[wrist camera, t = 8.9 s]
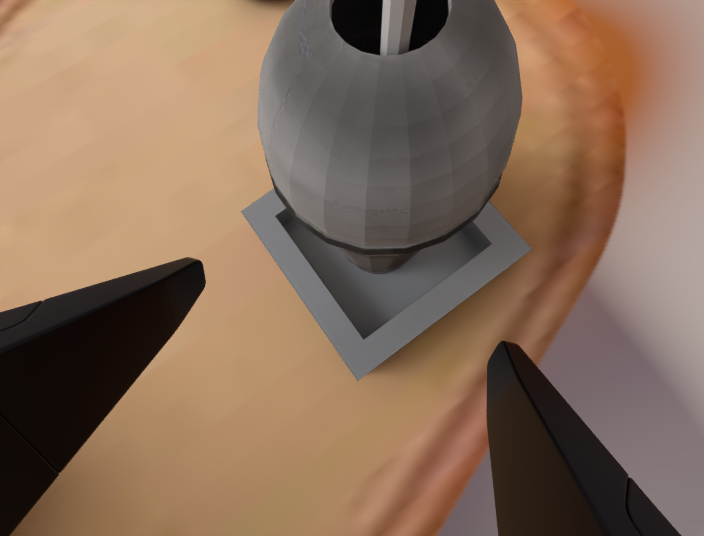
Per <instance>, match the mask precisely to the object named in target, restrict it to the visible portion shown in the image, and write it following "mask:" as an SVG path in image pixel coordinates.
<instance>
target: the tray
mask: <svg viewBox="0 0 704 536" xmlns="http://www.w3.org/2000/svg"><path fill="white" fill-rule="evenodd" d="M241 212H242V214H243V215H244V217H245V218H246V220H247V221H248V222H249V224H250V225H251V227H252V228H253V230H254V231H255V233H256V234H257V236H258V237H259V238H260V240H261V241H262V243H263V244H264V246H265V247H266V249H267V250H268V252H269V253H270V254H271V256H272V257H273V259H274V260H275V262H276V263H277V265H278V266H279V268H280V269H281V270H282V272H283V273H284V275H285V276H286V278H287V279H288V281H289V282H290V284H291V285H292V286H293V288H294V289H295V291H296V292H297V294H298V295H299V297H300V298H301V299H302V301H303V302H304V304H305V305H306V307H307V308H308V310H309V311H310V313H311V314H312V315H313V317H314V318H315V320H316V321H317V323H318V324H319V326H320V327H321V329H322V330H323V331H324V333H325V334H326V336H327V337H328V339H329V340H330V342H331V343H332V345H333V346H334V347H335V349H336V350H337V352H338V353H339V355H340V356H341V358H342V359H343V361H344V362H345V363H346V365H347V366H348V368H349V369H350V371H351V372H352V374H353V375H354V376H355V378H356V379H357V381H358V380H360V379H361V378H362V377H364V376H365V375H366V374H367V373H369V372H370V371H371V370H373V369H374V368H375V367H377V366H378V365H379V364H381V363H382V362H383V361H385V360H386V359H387V358H389V357H390V356H391V355H393V354H394V353H395V352H397V351H398V350H399V349H401V348H402V347H403V346H405V345H406V344H407V343H409V342H410V341H411V340H413V339H414V338H415V337H417V336H418V335H419V334H421V333H422V332H423V331H425V330H426V329H427V328H428V327H430V326H431V325H432V324H434V323H435V322H436V321H438V320H439V319H440V318H442V317H443V316H444V315H446V314H447V313H448V312H450V311H451V310H452V309H454V308H455V307H456V306H458V305H459V304H460V303H462V302H463V301H464V300H466V299H467V298H468V297H470V296H471V295H472V294H474V293H475V292H476V291H478V290H479V289H480V288H482V287H483V286H484V285H486V284H487V283H488V282H489V281H491V280H492V279H493V278H495V277H496V276H497V275H499V274H500V273H501V272H503V271H504V270H505V269H507V268H508V267H509V266H511V265H512V264H513V263H515V262H516V261H517V260H519V259H520V258H521V257H523V256H524V255H525V254H527V253H528V252H529V251H531V250H532V248H531V247H530V246H529V245H528V244H527V243H526V241H525V240H524V239H523V238H522V237H521V236H520V235H519V234H518V233H517V231H516V230H515V229H514V228H513V227H512V226H511V225H510V224H509V223H508V221H507V220H506V219H505V218H504V217H503V216H502V215H501V214H500V213H499V211H498V210H497V209H496V208H495V207H494V206H493V205H492V204H491V203H490V201H488V202H487V204H486V205H485V207H484V208H483V210H482V211H481V212H480V214H479V215H478V217H477V218H476V219H475V220H473V221H472V222H471V223H469V224H468V225H467V226H465V227H464V228H462V229H461V230H460V231H458V232H457V233H456V234H454V235H453V236H452V237H450V238H449V239H447V240H446V241H445V242H442V243H439V244H436V245H433V246H430V247H427V248H424V249H421V250H420V251H419V252H418V253H417V254H416V255H415V256H414V257H412V258H411V259H410V260H409V261H408V262H407V263H405V264H404V265H402V266H401V267H400V268H398V269H396V270H395V271H392V272H389V273H386V274H371V273H368V272H365V271H362V270H361V269H359V268H358V267H357V266H355V265H354V264H352V263H351V262H350V261H349V260H348V259H347V258H346V257H345V256H344V255H343V254H342V253H341V251H340V250H339V249H338V248H337V247H336V246H333V245H330V244H327V243H325V242H324V241H323V240H321V239H320V238H318V237H317V236H316V235H314V234H313V233H311V232H310V231H308V230H307V229H306V228H304V227H303V226H301V225H300V224H298V223H297V222H296V221H295V219H294V218H293V217H292V215H291V214H290V212H289V211H288V210H287V208H286V207H285V206H284V204H283V203H282V201H281V200H280V199H279V197H278V196H277V194H276V193H275V189H272V190H271V191H269V192H268V193H267V194H265V195H264V196H262V197H261V198H259V199H258V200H257V201H255V202H254V203H252V204H251V205H250V206H248V207H247V208H245V209H244V210H242V211H241Z"/></svg>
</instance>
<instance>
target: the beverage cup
mask: <svg viewBox="0 0 704 536" xmlns="http://www.w3.org/2000/svg"><path fill="white" fill-rule="evenodd" d="M521 106H522V90H521V81H520V72H519V63H518V56H517V49H516V43H515V41H514V39H513V36H512V34H511V32H510V30H509V28H508V25H507V24H506V22H505V20H504V18H503V16H502V14H501V12H500V10H499V8H498V6H497V4H496V2H495V1H494V0H295V1H294V2H293V3H292V4H291V6H290V7H289V8H288V9H287V10H286V11H285V13H284V15H283V17H282V19H281V21H280V23H279V25H278V27H277V29H276V31H275V34H274V36H273V38H272V41H271V43H270V45H269V48H268V50H267V52H266V55H265V57H264V60H263V64H262V69H261V73H260V84H259V98H258V129H259V134H260V138H261V142H262V145H263V149H264V152H265V157H266V162H267V165H268V169H269V172H270V176H271V179H272V182H273V186H274V189H275V193H276V194H277V196H278V197H279V199H280V200H281V201H282V203H283V204H284V206H285V207H286V208H287V210H288V211H289V212H290V214H291V215H292V217H293V218H294V219H295V221H296V222H297V223H298V224H300V225H301V226H303V227H304V228H306V229H307V230H308V231H310V232H311V233H313V234H314V235H316V236H317V237H318V238H320V239H321V240H323V241H324V242H325V243H327V244H330V245H333V246H336V247H337V248H338V249H339V250H340V251H341V253H342V254H343V255H344V256H345V257H346V258H347V259H348V260H349V261H350V262H351V263H352V264H354V265H355V266H357V267H358V268H359V269H361V270H362V271H365V272H368V273H371V274H386V273H389V272H392V271H395V270H396V269H398V268H400V267H401V266H402V265H404V264H405V263H407V262H408V261H409V260H410V259H411V258H412V257H414V256H415V255H416V254H417V253H418V252H419V251H420V250H421V249H424V248H427V247H430V246H433V245H436V244H439V243H442V242H445V241H446V240H447V239H449V238H450V237H452V236H453V235H454V234H456V233H457V232H458V231H460V230H461V229H462V228H464V227H465V226H467V225H468V224H469V223H471V222H472V221H473V220H475V219H476V218H477V217H478V215H479V214H480V212H481V211H482V210H483V208H484V207H485V205H486V204H487V202H488V201H489V199H490V198H491V197H492V195H493V194H494V192H495V191H496V189H497V188H498V186H499V182H500V179H501V175H502V172H503V170H504V169H505V167H506V164H507V162H508V159H509V156H510V153H511V149H512V146H513V142H514V138H515V134H516V130H517V127H518V123H519V119H520V115H521Z"/></svg>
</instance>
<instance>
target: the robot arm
mask: <svg viewBox="0 0 704 536" xmlns="http://www.w3.org/2000/svg"><path fill="white" fill-rule="evenodd" d="M205 284H206V280H205V274H204V268H203V264H202V262H201V261H200V260H197V259H194V258H189V257H186V258H183V259H179V260H176V261H173V262H169V263H166V264H163V265H159V266H156V267H153V268H149V269H146V270H142V271H139V272H136V273H132V274H129V275H126V276H122V277H119V278H115V279H112V280H109V281H105V282H102V283H99V284H95V285H92V286H89V287H85V288H82V289H78V290H75V291H72V292H68V293H65V294H62V295H58V296H55V297H51V298H48V299H45V300H44V301H38V302H34V303H31V304H28V305H24V306H21V307H17V308H14V309H10V310H7V311H3V312H0V536H10V534H11V533H12V532H13V531H14V529H15V528H16V527H17V526H18V525H19V523H20V522H21V521H22V520H23V518H24V517H25V516H26V515H27V514H28V512H29V511H30V510H31V509H32V507H33V506H34V505H35V504H36V502H37V501H38V500H39V499H40V498H41V496H42V495H43V494H44V493H45V491H46V490H47V489H48V488H49V487H50V485H51V484H52V483H53V482H54V480H55V479H56V478H57V477H58V475H59V473H60V472H61V471H62V470H63V469H64V468H65V467H66V465H67V464H68V463H69V462H70V460H71V459H72V458H73V457H74V455H75V454H76V453H77V452H78V451H79V449H80V448H81V447H82V446H83V444H84V443H85V442H86V441H87V440H88V438H89V437H90V436H91V435H92V433H93V432H94V431H95V430H96V428H97V427H98V426H99V425H100V424H101V422H102V421H103V420H104V419H105V417H106V416H107V415H108V414H109V413H110V411H111V410H112V409H113V408H114V406H115V405H116V404H117V403H118V401H119V400H120V399H121V398H122V397H123V395H124V394H125V393H126V392H127V390H128V389H129V388H130V387H131V385H132V384H133V383H134V382H135V381H136V379H137V378H138V377H139V376H140V374H141V373H142V372H143V371H144V370H145V368H146V367H147V366H148V365H149V363H150V362H151V361H152V360H153V358H154V357H155V356H156V355H157V354H158V352H159V351H160V350H161V349H162V347H163V346H164V345H165V344H166V343H167V341H168V340H169V339H170V338H171V336H172V335H173V334H174V333H175V331H176V330H177V329H178V327H179V326H180V324H181V323H182V322H183V320H184V319H185V317H186V316H187V314H188V312H189V311H190V309H191V308H192V306H193V305H194V303H195V302H196V300H197V299H198V297H199V296H200V294H201V293H202V291H203V289H204V287H205ZM487 429H488V439H489V449H490V458H491V468H492V477H493V488H494V497H495V507H496V516H497V526H498V536H681V535H680V534H679V533H678V531H677V530H676V529H675V528H674V527H673V526H672V525H671V524H670V522H669V521H668V520H667V519H666V518H665V517H664V516H663V514H662V513H661V512H660V511H659V510H658V509H657V507H656V506H655V505H654V504H653V503H652V502H651V501H650V499H649V498H648V497H647V496H646V495H645V494H644V493H643V491H642V490H641V489H640V488H639V487H638V485H637V484H636V483H635V482H634V481H633V479H631V478H628V474H627V473H626V471H625V470H624V469H623V468H622V467H621V465H620V464H619V463H618V462H617V461H616V459H615V458H614V457H613V456H612V455H611V454H610V452H609V451H608V450H607V449H606V448H605V447H604V445H603V444H602V443H601V442H600V441H599V439H598V438H597V437H596V436H595V435H594V434H593V432H592V431H591V430H590V429H589V428H588V427H587V425H586V424H585V423H584V422H583V421H582V420H581V418H580V417H579V416H578V415H577V413H576V412H575V411H574V410H573V409H572V408H571V406H570V405H569V404H568V403H567V402H566V400H565V399H564V398H563V397H562V396H561V395H560V393H559V392H558V391H557V390H556V389H555V388H554V387H553V385H552V384H551V383H550V382H549V381H548V379H547V378H546V377H545V376H544V374H543V373H542V372H541V371H540V370H539V369H538V367H537V366H536V365H535V364H534V363H533V361H532V360H531V359H530V358H529V357H528V356H527V354H526V353H525V352H524V351H523V350H522V348H521V347H520V346H519V345H517V344H515V343H511V342H508V341H501V342H500V343H499V344H498V345H497V347H496V349H495V350H494V352H493V354H492V355H491V357H490V359H489V361H488V365H487Z"/></svg>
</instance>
